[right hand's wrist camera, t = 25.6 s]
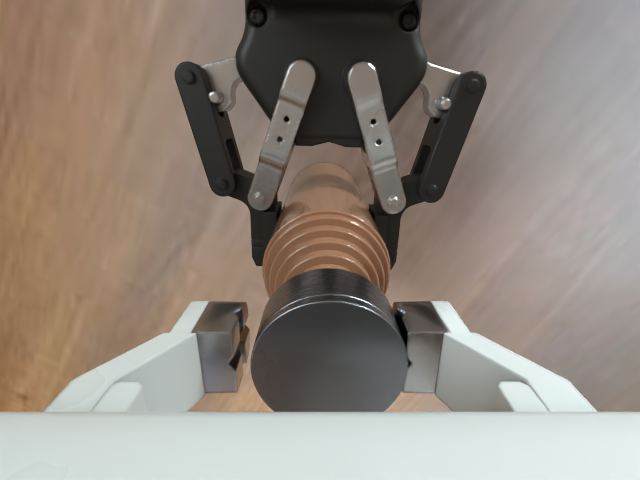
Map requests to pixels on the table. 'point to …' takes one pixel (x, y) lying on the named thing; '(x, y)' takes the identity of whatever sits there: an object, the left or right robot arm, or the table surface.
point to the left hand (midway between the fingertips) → (324, 270)
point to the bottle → (325, 231)
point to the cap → (329, 346)
